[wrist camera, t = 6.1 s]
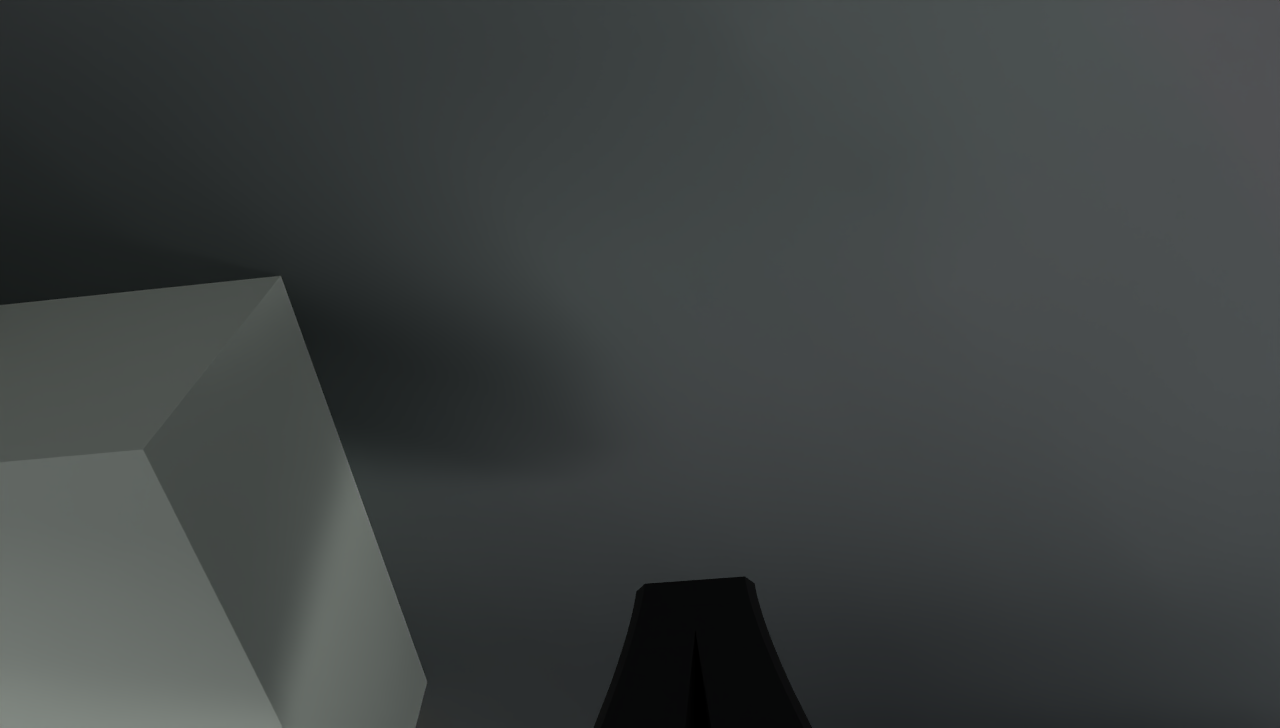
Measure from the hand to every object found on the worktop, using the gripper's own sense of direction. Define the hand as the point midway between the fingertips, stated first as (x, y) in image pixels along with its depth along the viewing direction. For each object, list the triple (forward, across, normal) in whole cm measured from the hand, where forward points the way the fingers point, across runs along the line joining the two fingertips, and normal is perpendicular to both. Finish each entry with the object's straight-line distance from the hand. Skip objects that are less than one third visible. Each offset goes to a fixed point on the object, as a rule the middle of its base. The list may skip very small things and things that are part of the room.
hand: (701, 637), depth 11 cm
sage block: (+3, +8, 0) cm, 9 cm away
